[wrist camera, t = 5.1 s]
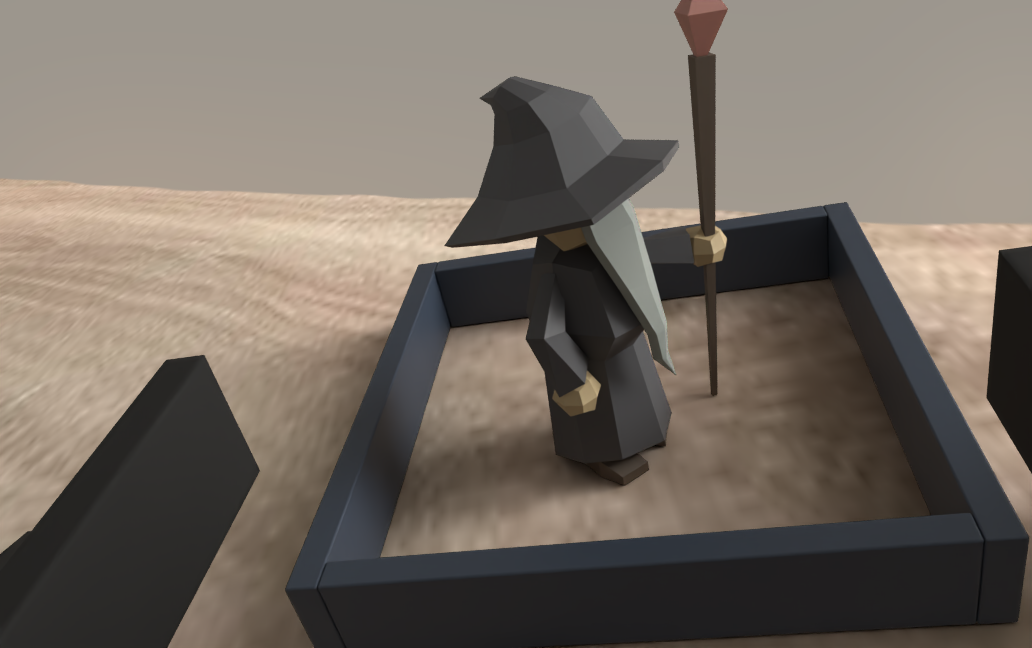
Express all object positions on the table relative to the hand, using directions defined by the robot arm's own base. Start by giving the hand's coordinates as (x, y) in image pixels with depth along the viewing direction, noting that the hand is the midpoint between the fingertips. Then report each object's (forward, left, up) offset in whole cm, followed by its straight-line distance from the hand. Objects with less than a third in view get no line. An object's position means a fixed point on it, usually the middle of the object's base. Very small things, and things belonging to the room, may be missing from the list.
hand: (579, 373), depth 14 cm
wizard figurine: (0, +9, -8) cm, 12 cm away
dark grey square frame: (0, +9, -8) cm, 12 cm away
